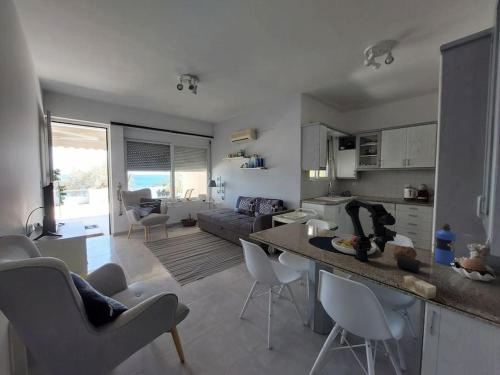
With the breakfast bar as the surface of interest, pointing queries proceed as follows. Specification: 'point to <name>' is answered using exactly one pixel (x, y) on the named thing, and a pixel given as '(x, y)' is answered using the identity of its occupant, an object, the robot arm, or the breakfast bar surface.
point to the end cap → (409, 264)
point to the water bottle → (445, 245)
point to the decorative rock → (404, 252)
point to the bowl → (349, 245)
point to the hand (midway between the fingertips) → (382, 252)
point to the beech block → (419, 286)
